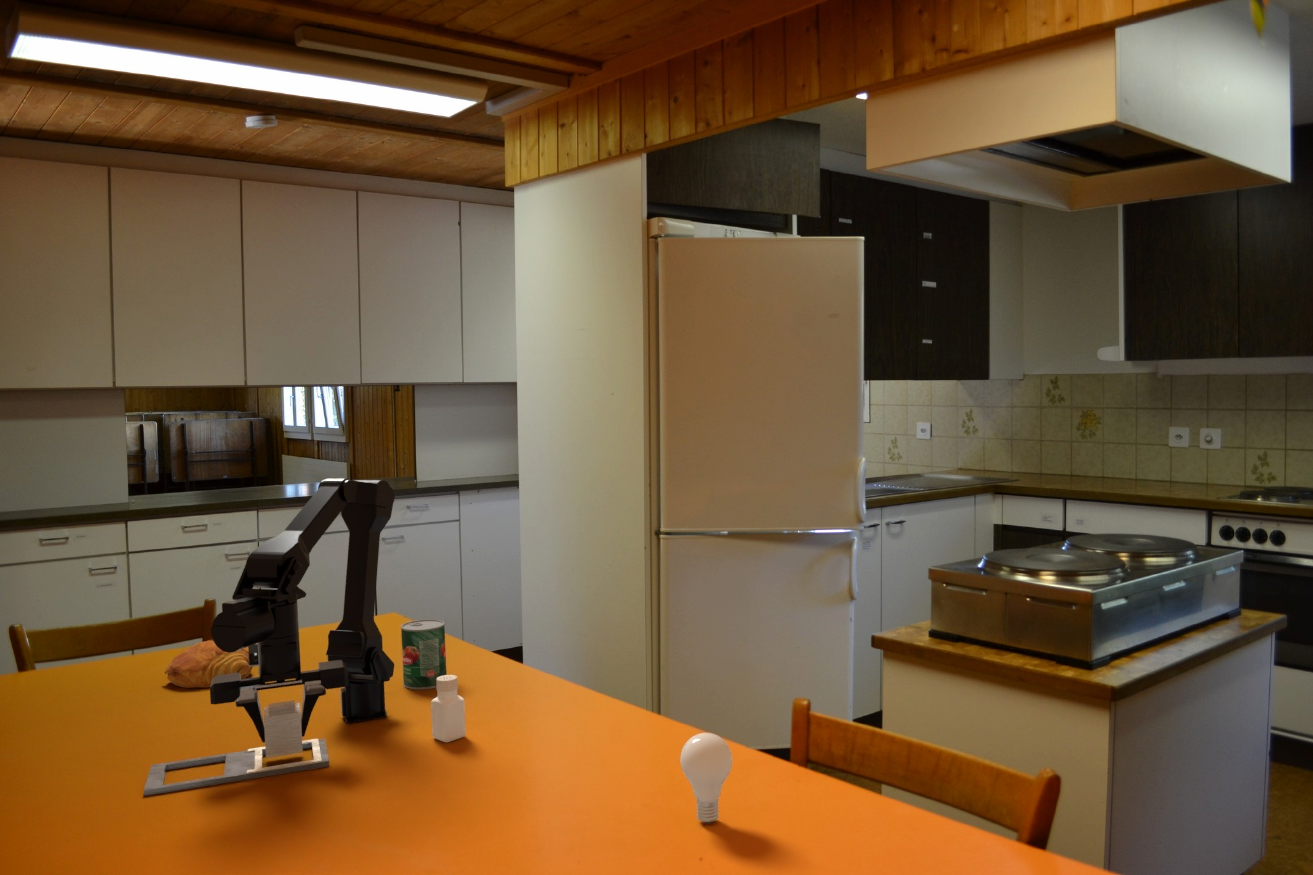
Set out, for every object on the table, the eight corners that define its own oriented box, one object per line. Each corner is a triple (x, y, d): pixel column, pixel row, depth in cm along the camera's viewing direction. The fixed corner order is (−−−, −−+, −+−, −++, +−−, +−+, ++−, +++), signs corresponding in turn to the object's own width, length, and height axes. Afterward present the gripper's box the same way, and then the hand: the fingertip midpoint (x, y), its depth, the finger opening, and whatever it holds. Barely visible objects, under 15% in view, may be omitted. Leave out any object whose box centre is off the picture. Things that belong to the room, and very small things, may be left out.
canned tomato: (456, 680, 184) (453, 621, 183) (425, 691, 177) (422, 631, 176) (425, 674, 188) (423, 617, 187) (394, 685, 181) (391, 626, 181)
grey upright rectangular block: (301, 741, 149) (299, 698, 148) (302, 752, 144) (300, 708, 144) (265, 746, 147) (263, 703, 146) (265, 758, 142) (263, 713, 142)
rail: (325, 743, 152) (324, 737, 152) (329, 766, 143) (328, 759, 143) (151, 770, 143) (151, 763, 143) (143, 796, 134) (143, 788, 134)
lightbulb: (679, 812, 124) (677, 726, 124) (729, 809, 125) (727, 723, 124) (685, 835, 118) (682, 745, 117) (737, 831, 118) (735, 741, 118)
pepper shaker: (467, 737, 153) (465, 676, 153) (446, 744, 150) (443, 683, 150) (452, 731, 156) (449, 672, 156) (430, 738, 153) (428, 678, 153)
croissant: (224, 674, 200) (220, 635, 200) (267, 675, 191) (262, 634, 191) (152, 691, 188) (148, 649, 189) (194, 693, 179) (190, 649, 179)
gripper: (340, 615, 155) (345, 712, 156) (211, 629, 148) (216, 731, 149) (346, 631, 145) (351, 735, 146) (207, 647, 138) (213, 756, 139)
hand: (283, 738), depth 145 cm, fingers closed on grey upright rectangular block, 5 cm apart
